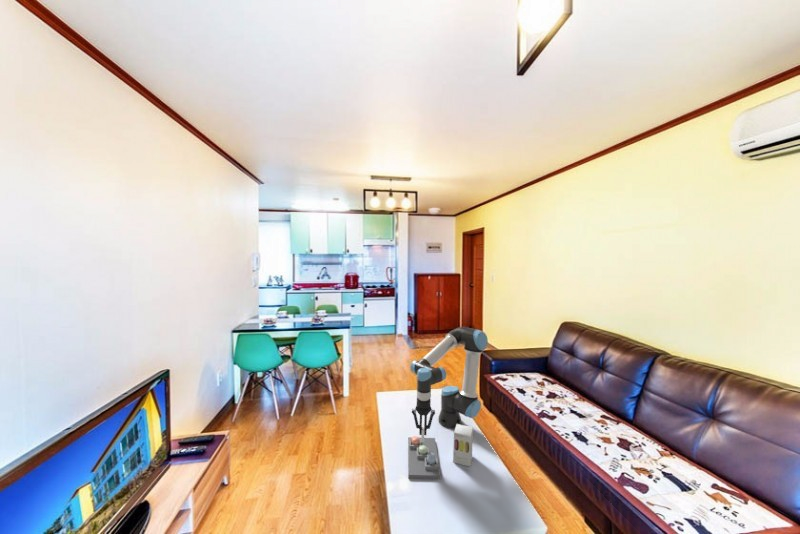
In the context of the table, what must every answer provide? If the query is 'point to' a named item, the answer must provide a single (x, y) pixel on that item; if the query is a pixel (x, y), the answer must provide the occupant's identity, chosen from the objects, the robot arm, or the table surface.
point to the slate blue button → (431, 458)
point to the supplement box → (463, 445)
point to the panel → (422, 460)
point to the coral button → (414, 440)
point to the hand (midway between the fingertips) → (422, 440)
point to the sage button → (422, 450)
